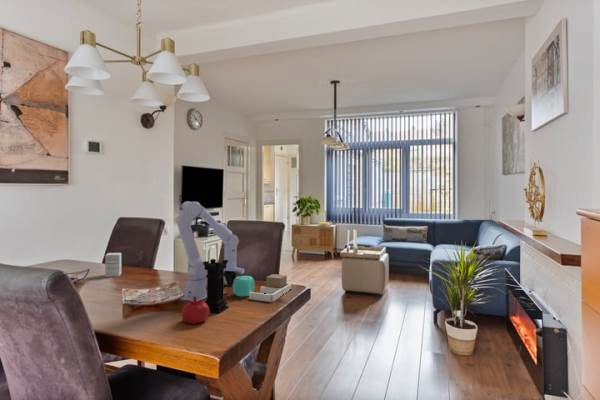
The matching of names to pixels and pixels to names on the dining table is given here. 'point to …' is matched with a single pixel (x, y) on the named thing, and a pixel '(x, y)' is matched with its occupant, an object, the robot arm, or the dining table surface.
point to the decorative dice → (243, 285)
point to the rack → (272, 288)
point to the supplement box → (113, 264)
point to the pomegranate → (195, 311)
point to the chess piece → (215, 285)
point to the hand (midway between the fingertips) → (230, 286)
